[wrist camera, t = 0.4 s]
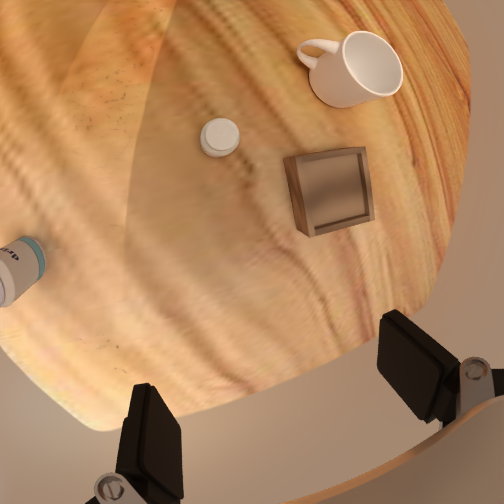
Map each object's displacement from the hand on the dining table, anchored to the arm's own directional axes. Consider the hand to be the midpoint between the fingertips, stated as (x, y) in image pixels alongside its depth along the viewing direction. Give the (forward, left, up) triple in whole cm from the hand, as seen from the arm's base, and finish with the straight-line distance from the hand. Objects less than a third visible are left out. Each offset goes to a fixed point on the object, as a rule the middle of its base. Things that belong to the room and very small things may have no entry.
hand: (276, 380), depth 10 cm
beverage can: (-4, -29, -29) cm, 41 cm away
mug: (-18, +19, -29) cm, 39 cm away
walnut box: (-2, +15, -29) cm, 33 cm away
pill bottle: (-11, +2, -29) cm, 31 cm away
